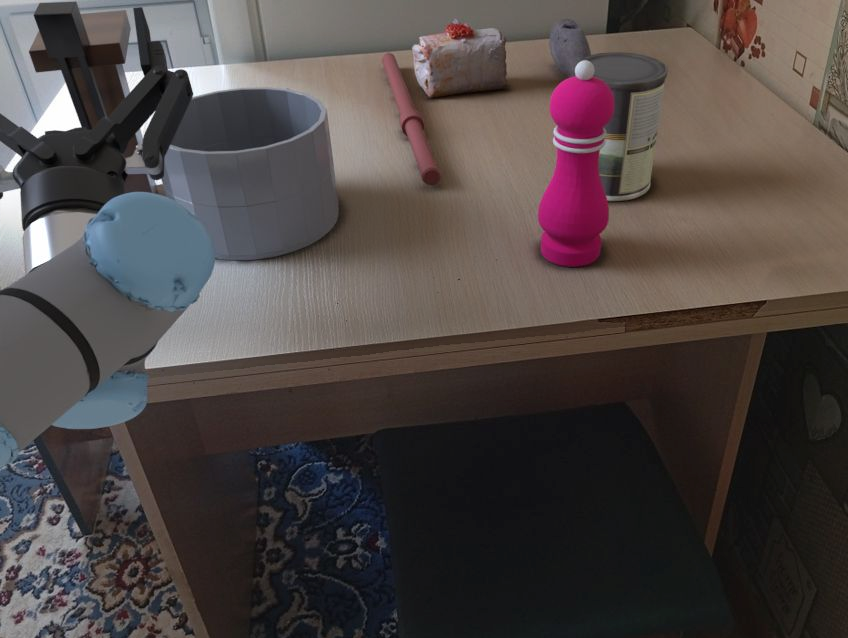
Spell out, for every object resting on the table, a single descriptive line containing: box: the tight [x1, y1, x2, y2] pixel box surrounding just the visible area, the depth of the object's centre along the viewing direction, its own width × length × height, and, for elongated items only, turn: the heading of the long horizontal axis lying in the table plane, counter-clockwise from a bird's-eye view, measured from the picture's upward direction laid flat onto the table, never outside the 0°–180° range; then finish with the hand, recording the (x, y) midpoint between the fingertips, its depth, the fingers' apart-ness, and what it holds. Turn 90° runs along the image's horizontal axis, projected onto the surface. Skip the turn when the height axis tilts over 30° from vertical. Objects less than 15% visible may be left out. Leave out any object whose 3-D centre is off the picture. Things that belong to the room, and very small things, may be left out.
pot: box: [161, 86, 340, 261], centre depth 86 cm, size 18×18×12 cm
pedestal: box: [28, 9, 166, 197], centre depth 84 cm, size 12×8×21 cm, turn 16°
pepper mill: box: [537, 60, 614, 268], centre depth 77 cm, size 7×7×20 cm
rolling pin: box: [381, 52, 441, 186], centre depth 112 cm, size 45×3×3 cm, turn 11°
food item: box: [411, 18, 508, 98], centre depth 120 cm, size 14×8×10 cm, turn 106°
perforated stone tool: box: [548, 18, 592, 79], centre depth 125 cm, size 15×5×7 cm, turn 6°
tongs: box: [33, 1, 108, 142], centre depth 76 cm, size 16×3×3 cm
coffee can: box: [574, 51, 669, 202], centre depth 92 cm, size 10×10×14 cm
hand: (60, 26), depth 69 cm, fingers open, 13 cm apart
